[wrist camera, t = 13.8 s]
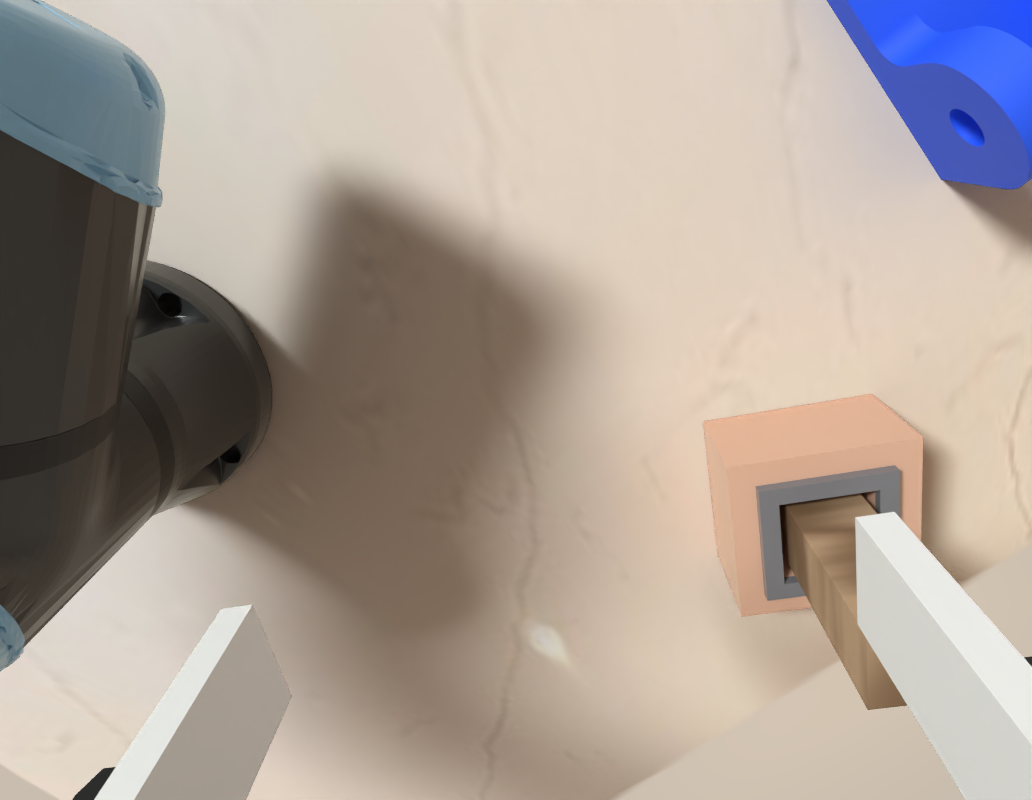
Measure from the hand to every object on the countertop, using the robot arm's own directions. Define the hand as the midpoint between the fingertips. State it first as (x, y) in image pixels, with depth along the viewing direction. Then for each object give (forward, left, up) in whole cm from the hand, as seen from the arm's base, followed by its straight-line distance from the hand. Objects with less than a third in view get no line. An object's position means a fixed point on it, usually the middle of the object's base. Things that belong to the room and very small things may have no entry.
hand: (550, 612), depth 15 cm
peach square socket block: (+13, -14, -27) cm, 33 cm away
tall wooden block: (+13, -14, -25) cm, 31 cm away
